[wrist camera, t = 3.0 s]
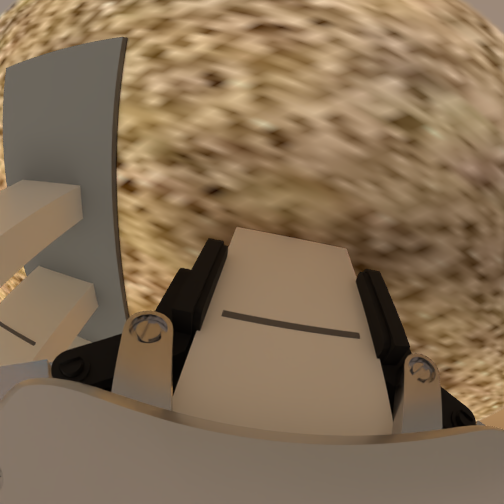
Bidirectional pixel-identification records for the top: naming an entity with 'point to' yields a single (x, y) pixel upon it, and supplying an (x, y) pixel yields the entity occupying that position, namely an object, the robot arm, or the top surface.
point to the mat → (73, 162)
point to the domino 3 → (286, 344)
